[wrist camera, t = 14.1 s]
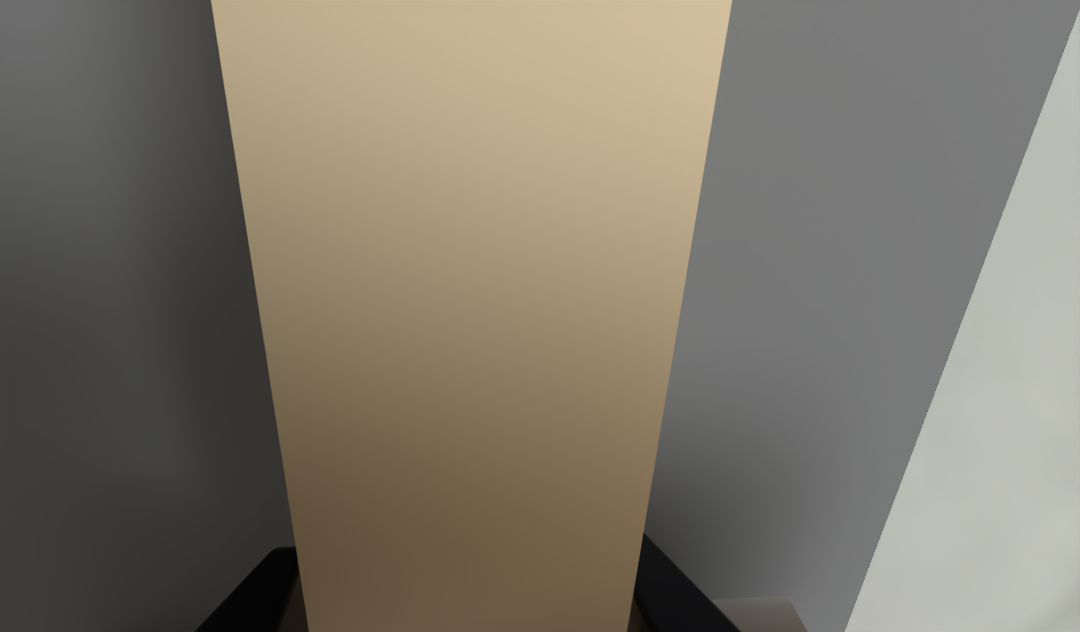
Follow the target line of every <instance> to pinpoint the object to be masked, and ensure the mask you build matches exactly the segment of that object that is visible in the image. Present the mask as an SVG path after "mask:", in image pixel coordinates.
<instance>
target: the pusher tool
mask: <svg viewBox="0 0 1080 632" xmlns="http://www.w3.org/2000/svg"><path fill="white" fill-rule="evenodd" d="M211 4H212V10H213V17H214V23H215V30H216V36H217V43H218V49H219V55H220V62H221V68H222V75H223V81H224V88H225V94H226V101H227V107H228V113H229V120H230V126H231V133H232V139H233V146H234V152H235V159H236V165H237V171H238V178H239V184H240V191H241V197H242V204H243V210H244V216H245V223H246V229H247V236H248V242H249V249H250V255H251V262H252V268H253V274H254V281H255V287H256V294H257V300H258V307H259V313H260V320H261V326H262V332H263V339H264V345H265V352H266V358H267V365H268V371H269V377H270V384H271V390H272V397H273V403H274V410H275V416H276V423H277V429H278V435H279V442H280V448H281V455H282V461H283V468H284V474H285V480H286V487H287V493H288V500H289V506H290V513H291V519H292V526H293V532H294V538H295V545H296V551H297V558H298V564H299V571H300V577H301V584H302V590H303V596H304V603H305V609H306V616H307V622H308V629H309V632H627V628H628V622H629V616H630V610H631V604H632V598H633V592H634V586H635V580H636V574H637V568H638V562H639V556H640V550H641V544H642V538H643V532H644V526H645V520H646V514H647V508H648V502H649V496H650V490H651V484H652V478H653V472H654V466H655V460H656V454H657V448H658V442H659V436H660V430H661V424H662V418H663V412H664V406H665V400H666V394H667V388H668V382H669V376H670V370H671V364H672V358H673V352H674V346H675V340H676V334H677V328H678V322H679V316H680V310H681V304H682V298H683V292H684V286H685V280H686V274H687V268H688V262H689V256H690V250H691V244H692V238H693V232H694V226H695V220H696V214H697V208H698V202H699V196H700V190H701V184H702V178H703V172H704V166H705V160H706V154H707V148H708V142H709V136H710V130H711V124H712V118H713V112H714V106H715V100H716V94H717V88H718V82H719V76H720V70H721V64H722V58H723V52H724V46H725V40H726V34H727V28H728V22H729V16H730V10H731V4H732V0H211ZM711 601H712V602H713V603H714V604H715V605H716V606H717V607H718V608H719V609H720V610H721V611H722V612H723V613H724V614H725V615H726V616H727V617H728V618H729V619H730V620H731V621H732V622H733V623H734V624H735V625H736V626H737V627H738V628H739V629H740V631H741V632H807V630H806V628H805V626H804V625H803V623H802V621H801V619H800V617H799V616H798V614H797V612H796V610H795V609H794V607H793V605H792V603H791V602H790V600H789V598H788V596H787V595H784V596H767V597H750V598H734V599H717V600H711ZM189 632H194V631H189Z"/></svg>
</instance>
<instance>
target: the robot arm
mask: <svg viewBox="0 0 1080 632" xmlns="http://www.w3.org/2000/svg"><path fill="white" fill-rule="evenodd" d="M194 632H309V629H308V622H307V616H306V609H305V603H304V596H303V590H302V584H301V577H300V571H299V564H298V558H297V551H296V546H290V547H277V548H275V549H273V550H271V551H270V552H269V553H268V554H267V555H266V556H265V557H264V558H263V559H262V560H261V561H260V562H259V563H258V565H257V566H256V567H255V568H254V569H253V570H252V571H251V572H250V573H249V574H248V575H247V576H246V577H245V578H244V579H243V580H242V581H241V582H240V584H239V585H238V586H237V587H236V588H235V589H234V590H233V591H232V592H231V593H230V594H229V595H228V596H227V597H226V598H225V599H224V600H223V601H222V603H221V604H220V605H219V606H218V607H217V608H216V609H215V610H214V611H213V612H212V613H211V614H210V615H209V616H208V617H207V618H206V619H205V620H204V622H203V623H202V624H201V625H200V626H199V627H198V628H197V629H196V630H195V631H194ZM627 632H741V631H740V629H739V628H738V627H737V626H736V625H735V624H734V623H733V622H732V621H731V620H730V619H729V618H728V617H727V616H726V615H725V614H724V613H723V612H722V611H721V610H720V609H719V608H718V607H717V606H716V605H715V604H714V603H713V602H712V601H711V600H710V599H709V598H708V597H707V596H706V595H705V594H704V593H703V592H702V591H701V590H700V589H699V588H698V587H697V586H696V585H695V584H694V583H693V581H692V580H691V579H690V578H689V577H688V576H687V575H686V574H685V573H684V572H683V571H682V570H681V569H680V568H679V567H678V566H677V565H676V564H675V563H674V562H673V561H672V560H671V559H670V558H669V557H668V556H667V555H666V554H665V553H664V552H663V551H662V550H661V549H660V548H659V547H658V546H657V545H656V544H655V543H654V542H653V541H652V540H651V539H650V538H649V537H648V536H647V535H646V534H645V533H644V532H643V538H642V544H641V550H640V556H639V562H638V568H637V574H636V580H635V586H634V592H633V598H632V604H631V610H630V616H629V622H628V628H627Z"/></svg>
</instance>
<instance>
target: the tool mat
mask: <svg viewBox="0 0 1080 632" xmlns="http://www.w3.org/2000/svg"><path fill="white" fill-rule="evenodd" d="M1079 9H1080V0H732V4H731V10H730V16H729V22H728V28H727V34H726V40H725V46H724V52H723V58H722V64H721V70H720V76H719V82H718V88H717V94H716V100H715V106H714V112H713V118H712V124H711V130H710V136H709V142H708V148H707V154H706V160H705V166H704V172H703V178H702V184H701V190H700V196H699V202H698V208H697V214H696V220H695V226H694V232H693V238H692V244H691V250H690V256H689V262H688V268H687V274H686V280H685V286H684V292H683V298H682V304H681V310H680V316H679V322H678V328H677V334H676V340H675V346H674V352H673V358H672V364H671V370H670V376H669V382H668V388H667V394H666V400H665V406H664V412H663V418H662V424H661V430H660V436H659V442H658V448H657V454H656V460H655V466H654V472H653V478H652V484H651V490H650V496H649V502H648V508H647V514H646V520H645V526H644V533H645V534H646V535H647V536H648V537H649V538H650V539H651V540H652V541H653V542H654V543H655V544H656V545H657V546H658V547H659V548H660V549H661V550H662V551H663V552H664V553H665V554H666V555H667V556H668V557H669V558H670V559H671V560H672V561H673V562H674V563H675V564H676V565H677V566H678V567H679V568H680V569H681V570H682V571H683V572H684V573H685V574H686V575H687V576H688V577H689V578H690V579H691V580H692V581H693V583H694V584H695V585H696V586H697V587H698V588H699V589H700V590H701V591H702V592H703V593H704V594H705V595H706V596H707V597H708V598H709V599H710V600H717V599H734V598H750V597H767V596H784V595H787V596H788V598H789V600H790V602H791V603H792V605H793V607H794V609H795V610H796V612H797V614H798V616H799V617H800V619H801V621H802V623H803V625H804V626H805V628H806V630H807V632H845V629H846V626H847V624H848V621H849V618H850V616H851V613H852V611H853V608H854V605H855V603H856V600H857V597H858V595H859V592H860V589H861V587H862V584H863V581H864V579H865V576H866V573H867V571H868V568H869V566H870V563H871V560H872V558H873V555H874V552H875V550H876V547H877V544H878V542H879V539H880V536H881V534H882V531H883V528H884V526H885V523H886V520H887V518H888V515H889V513H890V510H891V507H892V505H893V502H894V499H895V497H896V494H897V491H898V489H899V486H900V483H901V481H902V478H903V475H904V473H905V470H906V468H907V465H908V462H909V460H910V457H911V454H912V452H913V449H914V446H915V444H916V441H917V438H918V436H919V433H920V430H921V428H922V425H923V422H924V420H925V417H926V415H927V412H928V409H929V407H930V404H931V401H932V399H933V396H934V393H935V391H936V388H937V385H938V383H939V380H940V377H941V375H942V372H943V370H944V367H945V364H946V362H947V359H948V356H949V354H950V351H951V348H952V346H953V343H954V340H955V338H956V335H957V332H958V330H959V327H960V324H961V322H962V319H963V317H964V314H965V311H966V309H967V306H968V303H969V301H970V298H971V295H972V293H973V290H974V287H975V285H976V282H977V279H978V277H979V274H980V272H981V269H982V266H983V264H984V261H985V258H986V256H987V253H988V250H989V248H990V245H991V242H992V240H993V237H994V234H995V232H996V229H997V226H998V224H999V221H1000V219H1001V216H1002V213H1003V211H1004V208H1005V205H1006V203H1007V200H1008V197H1009V195H1010V192H1011V189H1012V187H1013V184H1014V181H1015V179H1016V176H1017V174H1018V171H1019V168H1020V166H1021V163H1022V160H1023V158H1024V155H1025V152H1026V150H1027V147H1028V144H1029V142H1030V139H1031V136H1032V134H1033V131H1034V128H1035V126H1036V123H1037V121H1038V118H1039V115H1040V113H1041V110H1042V107H1043V105H1044V102H1045V99H1046V97H1047V94H1048V91H1049V89H1050V86H1051V83H1052V81H1053V78H1054V76H1055V73H1056V70H1057V68H1058V65H1059V62H1060V60H1061V57H1062V54H1063V52H1064V49H1065V46H1066V44H1067V41H1068V38H1069V36H1070V33H1071V30H1072V28H1073V25H1074V23H1075V20H1076V17H1077V15H1078V12H1079ZM290 546H296V545H295V538H294V532H293V526H292V519H291V513H290V506H289V500H288V493H287V487H286V480H285V474H284V468H283V461H282V455H281V448H280V442H279V435H278V429H277V423H276V416H275V410H274V403H273V397H272V390H271V384H270V377H269V371H268V365H267V358H266V352H265V345H264V339H263V332H262V326H261V320H260V313H259V307H258V300H257V294H256V287H255V281H254V274H253V268H252V262H251V255H250V249H249V242H248V236H247V229H246V223H245V216H244V210H243V204H242V197H241V191H240V184H239V178H238V171H237V165H236V159H235V152H234V146H233V139H232V133H231V126H230V120H229V113H228V107H227V101H226V94H225V88H224V81H223V75H222V68H221V62H220V55H219V49H218V43H217V36H216V30H215V23H214V17H213V10H212V4H211V0H0V632H189V631H195V630H196V629H197V628H198V627H199V626H200V625H201V624H202V623H203V622H204V620H205V619H206V618H207V617H208V616H209V615H210V614H211V613H212V612H213V611H214V610H215V609H216V608H217V607H218V606H219V605H220V604H221V603H222V601H223V600H224V599H225V598H226V597H227V596H228V595H229V594H230V593H231V592H232V591H233V590H234V589H235V588H236V587H237V586H238V585H239V584H240V582H241V581H242V580H243V579H244V578H245V577H246V576H247V575H248V574H249V573H250V572H251V571H252V570H253V569H254V568H255V567H256V566H257V565H258V563H259V562H260V561H261V560H262V559H263V558H264V557H265V556H266V555H267V554H268V553H269V552H270V551H271V550H273V549H275V548H277V547H290Z"/></svg>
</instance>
